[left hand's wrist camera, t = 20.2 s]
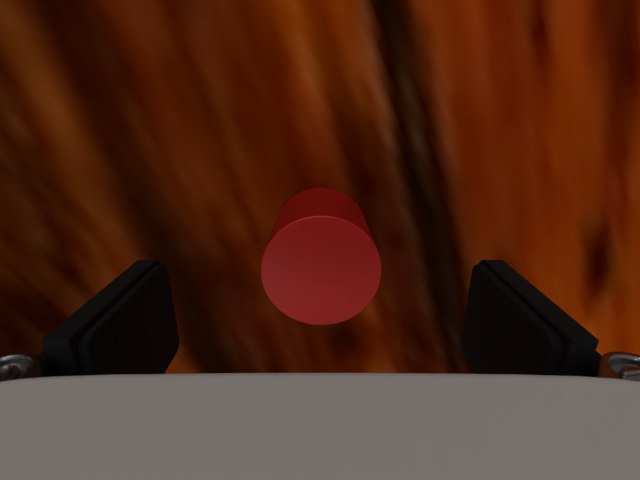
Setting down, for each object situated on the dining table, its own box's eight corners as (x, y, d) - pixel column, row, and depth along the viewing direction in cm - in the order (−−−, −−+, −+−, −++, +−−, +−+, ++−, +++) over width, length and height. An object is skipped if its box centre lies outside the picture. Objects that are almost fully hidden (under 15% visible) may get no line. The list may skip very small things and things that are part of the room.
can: (294, 172, 16) (284, 196, 12) (381, 207, 17) (403, 242, 12) (263, 254, 18) (244, 303, 13) (344, 284, 18) (352, 340, 14)
